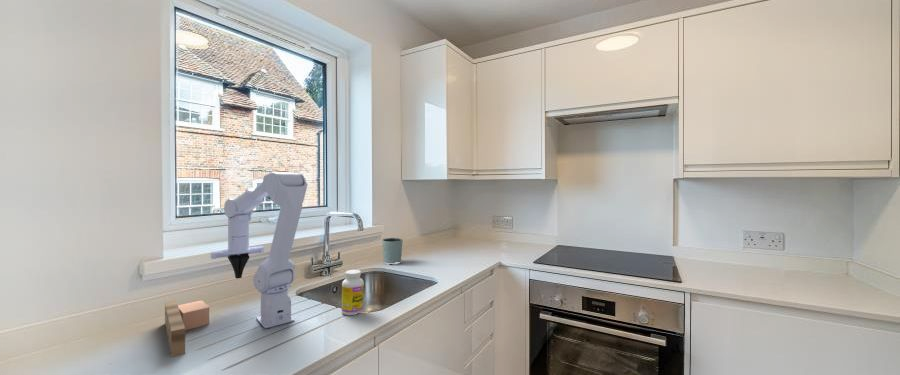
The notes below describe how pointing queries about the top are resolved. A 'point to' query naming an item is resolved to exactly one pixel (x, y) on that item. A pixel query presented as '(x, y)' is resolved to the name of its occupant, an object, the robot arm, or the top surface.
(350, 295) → the supplement bottle
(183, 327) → the plank
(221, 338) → the top surface
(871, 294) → the top surface
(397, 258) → the green plant pot
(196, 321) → the block
